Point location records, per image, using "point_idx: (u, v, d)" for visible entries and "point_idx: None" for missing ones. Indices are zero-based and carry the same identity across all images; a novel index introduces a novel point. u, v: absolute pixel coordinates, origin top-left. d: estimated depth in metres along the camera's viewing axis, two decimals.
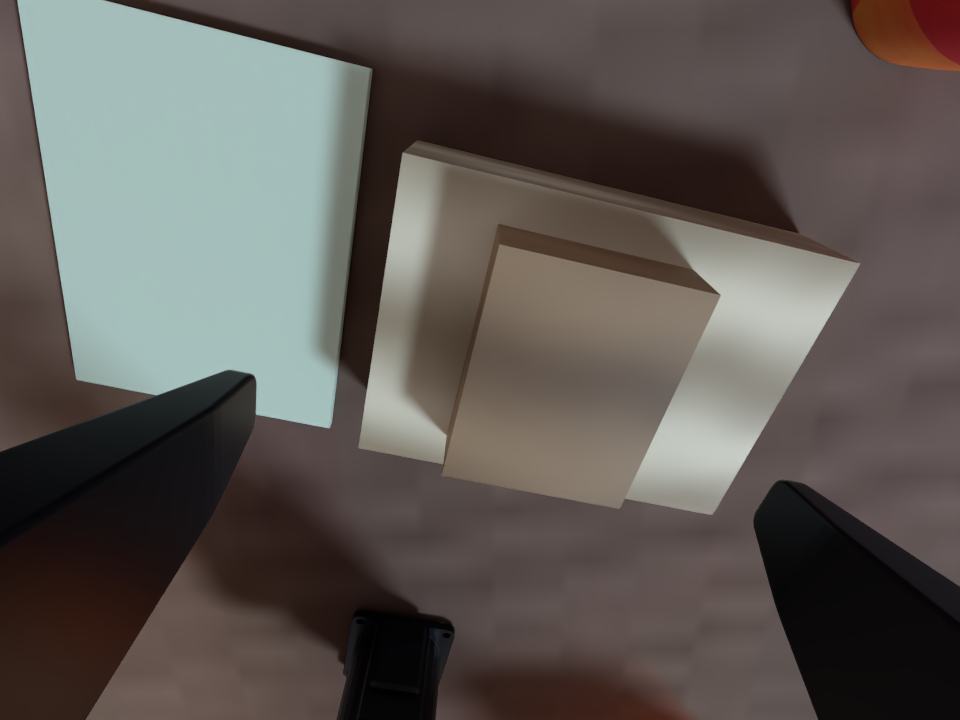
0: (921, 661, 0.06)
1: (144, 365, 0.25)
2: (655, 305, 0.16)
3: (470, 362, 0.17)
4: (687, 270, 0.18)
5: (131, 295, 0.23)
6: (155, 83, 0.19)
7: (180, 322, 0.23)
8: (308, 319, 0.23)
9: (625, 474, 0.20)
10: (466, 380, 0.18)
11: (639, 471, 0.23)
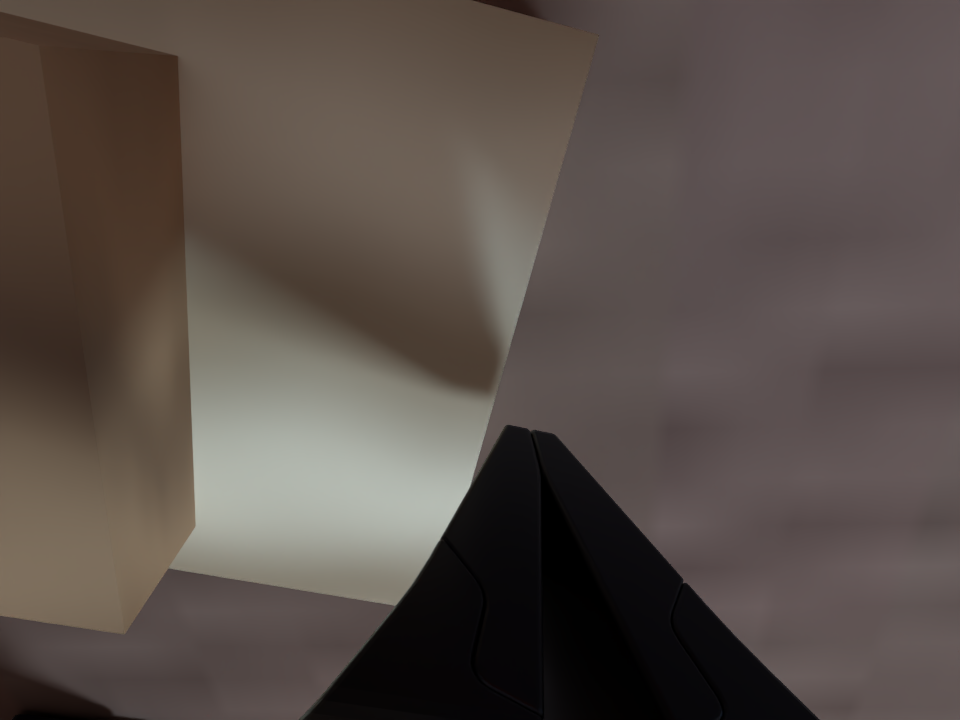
0: (567, 601, 0.06)
1: None
2: None
3: None
4: (135, 47, 0.07)
5: None
6: None
7: None
8: None
9: (90, 565, 0.08)
10: None
11: (263, 534, 0.11)
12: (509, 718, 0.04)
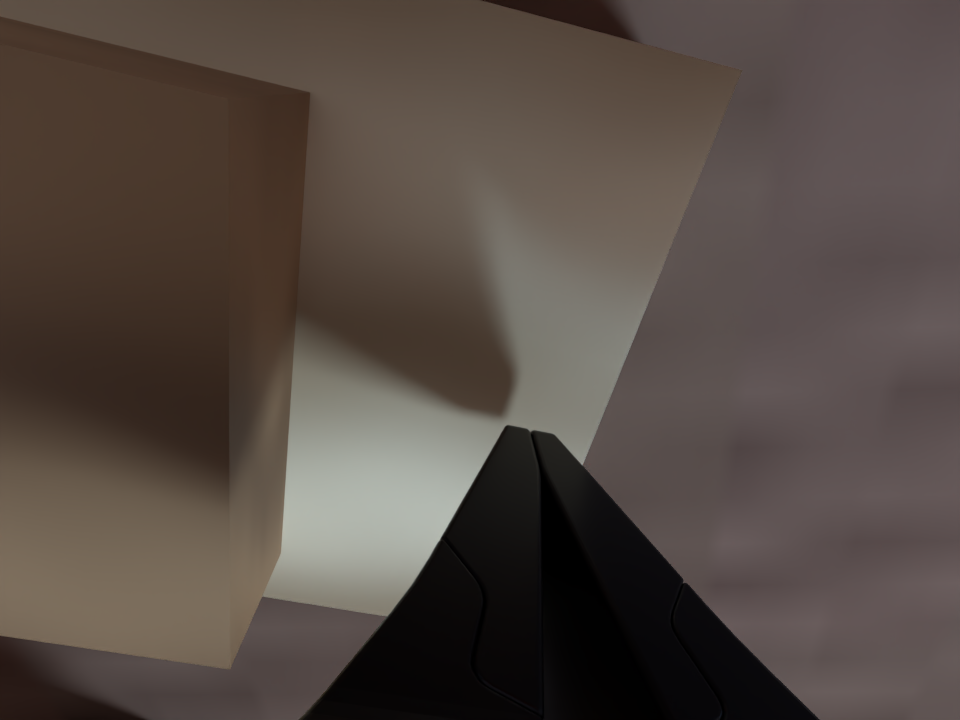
0: (567, 601, 0.06)
1: None
2: (37, 140, 0.05)
3: None
4: (274, 86, 0.07)
5: None
6: None
7: None
8: None
9: (205, 603, 0.08)
10: None
11: (348, 561, 0.11)
12: (509, 718, 0.04)
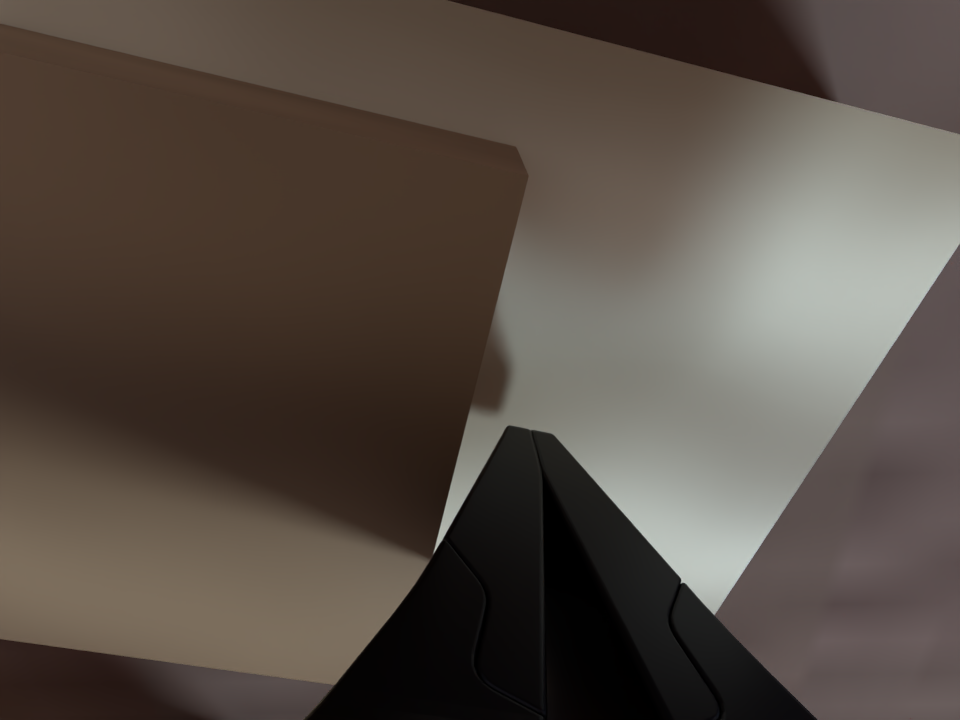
0: (565, 601, 0.06)
1: None
2: (337, 214, 0.05)
3: None
4: (492, 143, 0.07)
5: None
6: None
7: None
8: None
9: None
10: None
11: None
12: (513, 719, 0.04)
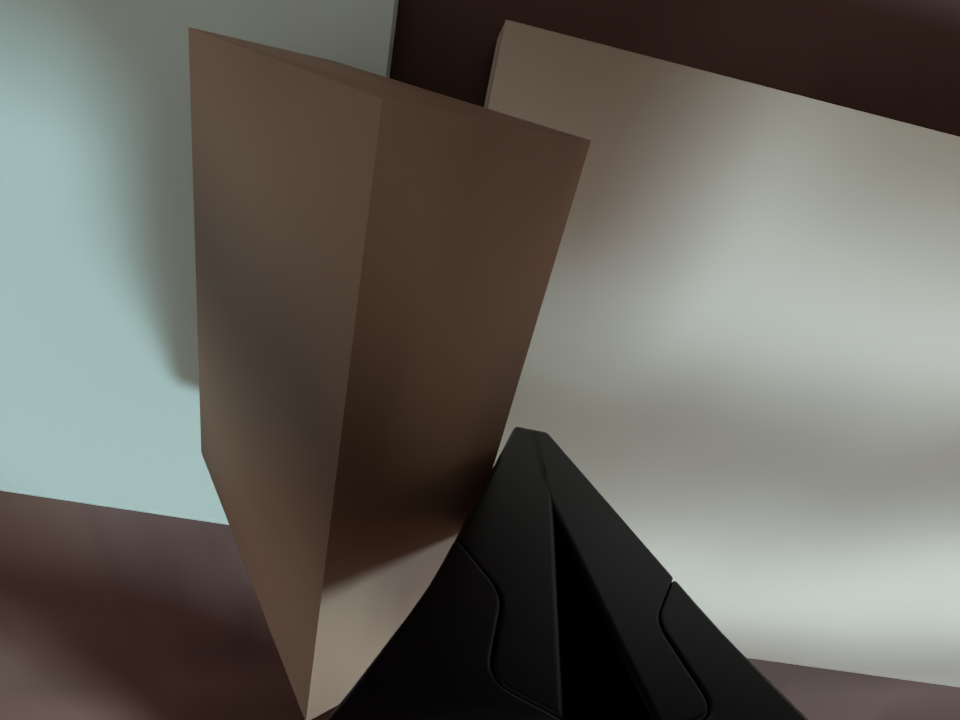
0: None
1: (19, 453, 0.15)
2: (295, 149, 0.06)
3: None
4: (546, 128, 0.06)
5: None
6: None
7: (72, 383, 0.14)
8: None
9: (304, 636, 0.08)
10: (196, 293, 0.11)
11: (878, 632, 0.13)
12: None
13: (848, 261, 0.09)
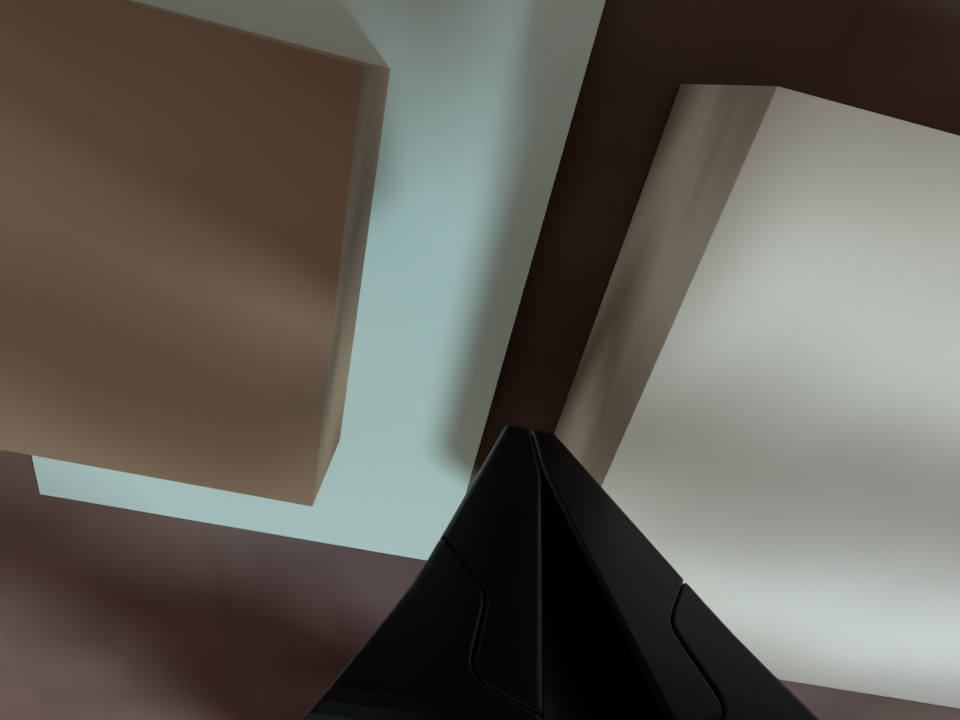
0: (567, 601, 0.06)
1: None
2: None
3: (361, 270, 0.12)
4: None
5: None
6: None
7: None
8: (434, 404, 0.14)
9: None
10: None
11: None
12: (509, 718, 0.04)
13: None
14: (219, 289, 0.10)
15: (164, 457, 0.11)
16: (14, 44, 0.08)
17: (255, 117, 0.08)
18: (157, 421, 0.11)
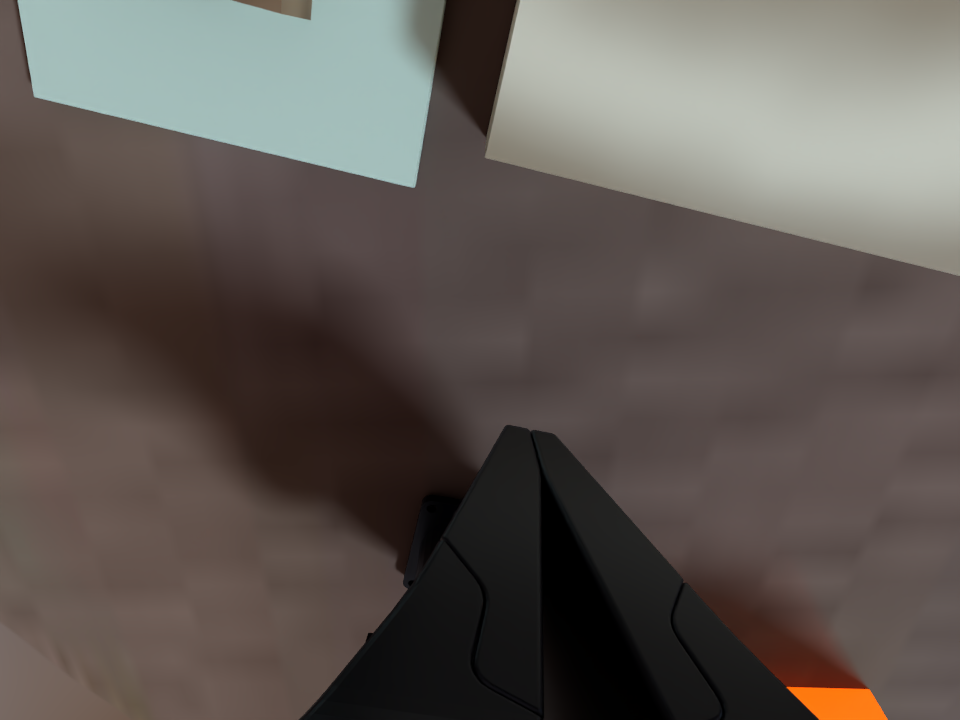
0: (567, 602, 0.06)
1: (137, 67, 0.16)
2: None
3: None
4: None
5: None
6: None
7: None
8: None
9: None
10: None
11: (930, 204, 0.14)
12: (509, 719, 0.04)
13: None
14: None
15: None
16: None
17: None
18: None
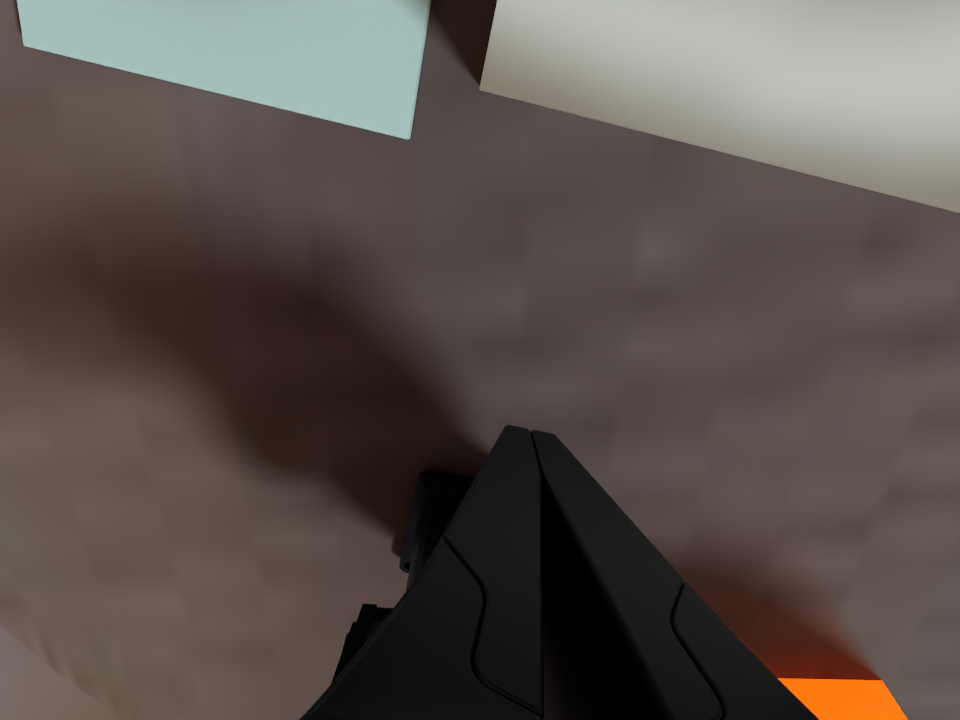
0: (567, 601, 0.06)
1: (128, 14, 0.16)
2: None
3: None
4: None
5: None
6: None
7: None
8: None
9: None
10: None
11: (934, 137, 0.14)
12: (509, 718, 0.04)
13: None
14: None
15: None
16: None
17: None
18: None
